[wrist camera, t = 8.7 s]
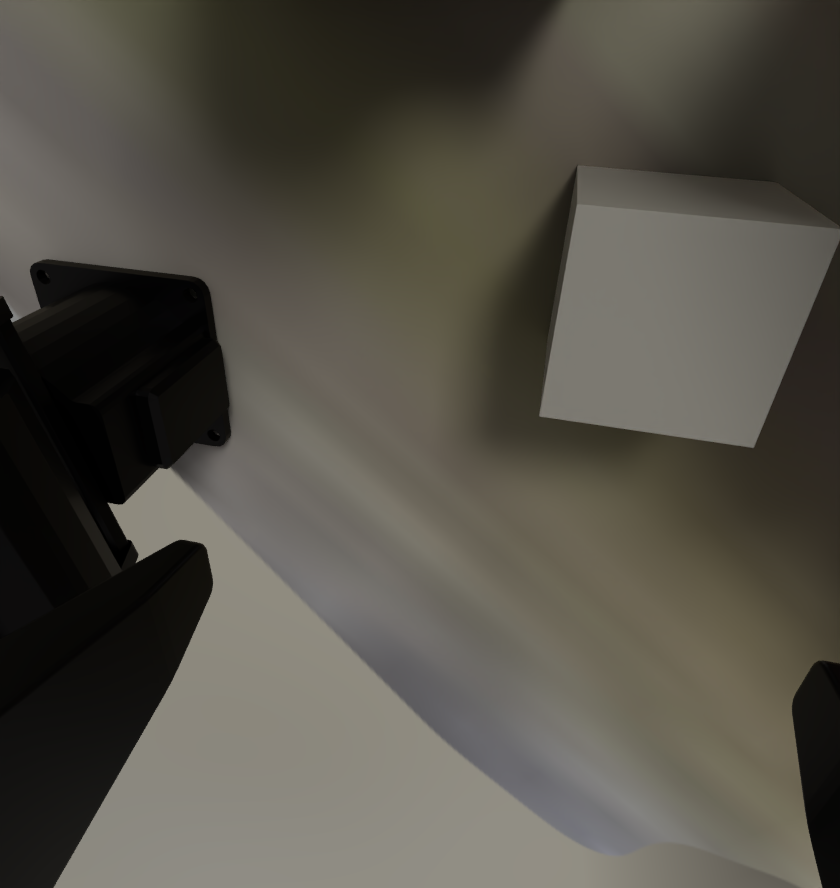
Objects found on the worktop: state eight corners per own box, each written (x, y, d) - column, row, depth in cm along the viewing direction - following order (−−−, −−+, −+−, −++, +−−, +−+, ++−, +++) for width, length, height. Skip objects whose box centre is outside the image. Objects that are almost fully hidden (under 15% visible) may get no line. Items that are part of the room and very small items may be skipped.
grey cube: (547, 337, 19) (539, 416, 15) (577, 164, 17) (576, 204, 13) (715, 358, 19) (754, 447, 15) (775, 181, 16) (844, 229, 12)
